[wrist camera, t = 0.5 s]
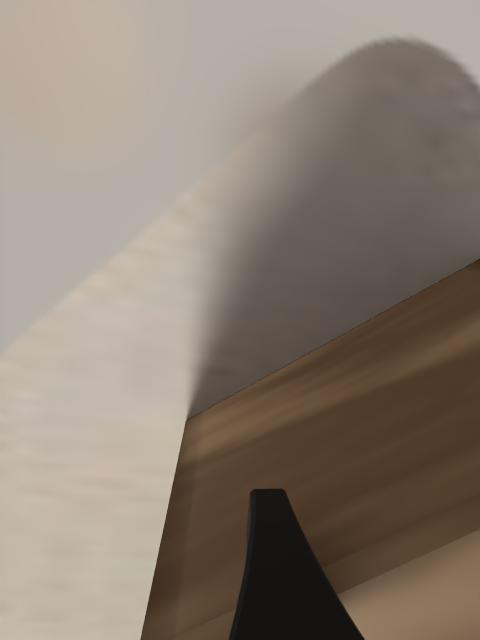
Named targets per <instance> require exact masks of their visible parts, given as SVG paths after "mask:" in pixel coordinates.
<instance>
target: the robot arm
mask: <svg viewBox="0 0 480 640" xmlns="http://www.w3.org/2000/svg"><path fill="white" fill-rule="evenodd" d="M246 538H247V555H246V562H245V568H244V574H243V579H242V583H241V588H240V593H239V597H238V602H237V606H236V611H235V615H234V619H233V623H232V627H231V631H230V635H229V639H228V640H365V639H364V637H363V636H362V634H361V633H360V631H359V630H358V628H357V627H356V625H355V623H354V622H353V620H352V619H351V617H350V616H349V614H348V612H347V611H346V609H345V607H344V606H343V604H342V602H341V601H340V599H339V597H338V596H337V594H336V592H335V591H334V589H333V587H332V586H331V584H330V582H329V580H328V579H327V577H326V575H325V573H324V571H323V570H322V568H321V566H320V564H319V562H318V560H317V558H316V557H315V555H314V553H313V551H312V549H311V547H310V545H309V543H308V541H307V539H306V537H305V535H304V533H303V531H302V529H301V527H300V525H299V522H298V520H297V518H296V516H295V514H294V511H293V509H292V506H291V504H290V502H289V499H288V496H287V494H286V491H285V490H283V489H282V488H280V489H253V490H252V491H251V492H250V496H249V508H248V521H247V533H246Z"/></svg>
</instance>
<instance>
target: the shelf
mask: <svg viewBox="0 0 480 640" xmlns="http://www.w3.org/2000/svg"><path fill="white" fill-rule="evenodd" d="M280 488H282V489H283V490H285V491H286V494H287V496H288V499H289V502H290V504H291V506H292V509H293V511H294V514H295V516H296V518H297V520H298V522H299V525H300V527H301V529H302V531H303V533H304V535H305V537H306V539H307V541H308V543H309V545H310V547H311V549H312V551H313V553H314V555H315V557H316V558H317V560H318V562H319V564H320V566H321V568H322V570H323V571H324V573H325V575H326V577H327V579H328V580H329V582H330V584H331V586H332V587H333V589H334V591H335V592H336V594H337V596H338V597H339V599H340V601H341V602H342V604H343V606H344V607H345V609H346V611H347V612H348V614H349V616H350V617H351V619H352V620H353V622H354V623H355V625H356V627H357V628H358V630H359V631H360V633H361V634H362V636H363V637H364V639H365V640H480V259H479V260H477V261H476V262H474V263H472V264H470V265H468V266H467V267H465V268H463V269H461V270H459V271H458V272H456V273H454V274H452V275H450V276H448V277H447V278H445V279H443V280H441V281H439V282H438V283H436V284H434V285H432V286H430V287H428V288H427V289H425V290H423V291H421V292H419V293H418V294H416V295H414V296H412V297H410V298H408V299H407V300H405V301H403V302H401V303H399V304H398V305H396V306H394V307H392V308H390V309H389V310H387V311H385V312H383V313H381V314H379V315H378V316H376V317H374V318H372V319H370V320H369V321H367V322H365V323H363V324H361V325H359V326H358V327H356V328H354V329H352V330H350V331H349V332H347V333H345V334H343V335H341V336H339V337H338V338H336V339H334V340H332V341H330V342H329V343H327V344H325V345H323V346H321V347H319V348H318V349H316V350H314V351H312V352H310V353H309V354H307V355H305V356H303V357H301V358H300V359H298V360H296V361H294V362H292V363H290V364H289V365H287V366H285V367H283V368H281V369H280V370H278V371H276V372H274V373H272V374H270V375H269V376H267V377H265V378H263V379H261V380H260V381H258V382H256V383H254V384H252V385H250V386H249V387H247V388H245V389H243V390H241V391H240V392H238V393H236V394H234V395H232V396H231V397H229V398H227V399H225V400H223V401H221V402H220V403H218V404H216V405H214V406H212V407H211V408H209V409H207V410H205V411H203V412H201V413H200V414H198V415H196V416H194V417H192V418H191V419H189V420H187V421H186V424H185V428H184V433H183V438H182V443H181V448H180V452H179V457H178V462H177V467H176V472H175V476H174V481H173V486H172V491H171V496H170V500H169V505H168V510H167V515H166V520H165V524H164V529H163V534H162V539H161V544H160V548H159V553H158V558H157V563H156V568H155V572H154V577H153V582H152V587H151V592H150V596H149V601H148V606H147V611H146V616H145V620H144V625H143V630H142V635H141V640H228V639H229V635H230V631H231V627H232V623H233V619H234V615H235V611H236V606H237V602H238V597H239V593H240V588H241V583H242V579H243V574H244V568H245V562H246V555H247V538H246V533H247V521H248V508H249V496H250V492H251V491H252V490H253V489H280Z"/></svg>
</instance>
